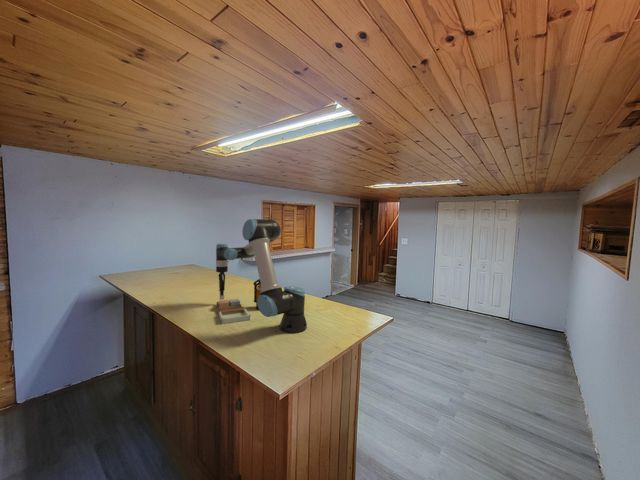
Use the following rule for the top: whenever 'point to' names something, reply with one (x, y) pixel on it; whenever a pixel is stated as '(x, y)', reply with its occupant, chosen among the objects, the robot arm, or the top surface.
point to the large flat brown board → (230, 309)
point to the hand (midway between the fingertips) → (221, 299)
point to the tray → (234, 317)
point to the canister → (257, 291)
